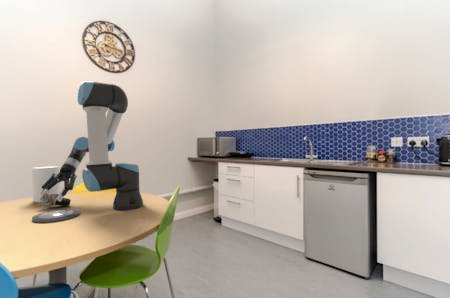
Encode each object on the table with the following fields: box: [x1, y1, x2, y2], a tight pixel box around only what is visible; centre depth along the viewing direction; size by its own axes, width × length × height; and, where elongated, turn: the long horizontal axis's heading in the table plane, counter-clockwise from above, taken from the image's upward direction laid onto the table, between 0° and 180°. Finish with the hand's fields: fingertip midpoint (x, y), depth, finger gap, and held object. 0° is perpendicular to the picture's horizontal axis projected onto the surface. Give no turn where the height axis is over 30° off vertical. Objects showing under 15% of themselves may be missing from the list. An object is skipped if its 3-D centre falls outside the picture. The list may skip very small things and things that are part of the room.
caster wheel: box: [40, 193, 72, 209], centre depth 140 cm, size 7×11×10 cm
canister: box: [31, 165, 61, 203], centre depth 159 cm, size 14×14×20 cm
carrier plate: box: [31, 208, 81, 224], centre depth 122 cm, size 19×19×1 cm
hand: (49, 200), depth 136 cm, fingers closed on caster wheel, 10 cm apart
